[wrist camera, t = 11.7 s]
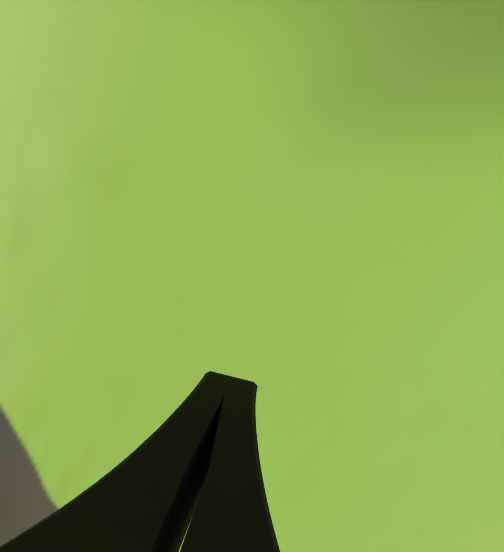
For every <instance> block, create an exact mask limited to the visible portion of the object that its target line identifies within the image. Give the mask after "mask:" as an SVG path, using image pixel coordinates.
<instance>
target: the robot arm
mask: <svg viewBox="0 0 504 552" xmlns="http://www.w3.org/2000/svg"><path fill="white" fill-rule="evenodd" d="M256 392H257V385H256V384H255V383H254V382H251V381H247V380H243V379H239V378H235V377H231V376H227V375H223V374H219V373H215V372H211V371H210V372H208V373H206V374H205V375H204V377H203V378H202V379H201V381H200V382H199V383H198V385H197V386H196V387H195V389H194V390H193V391H192V392H191V394H190V395H189V396H188V397H187V398H186V399H185V400H184V402H183V403H182V404H181V405H180V406H179V407H178V408H177V409H176V410H175V411H174V413H173V414H172V415H171V416H170V417H169V418H168V419H167V420H166V421H165V422H164V423H163V424H162V425H161V426H160V427H159V428H158V429H157V430H156V431H155V432H154V433H153V434H152V435H151V436H150V437H149V438H148V439H147V440H145V441H144V442H143V443H142V444H141V445H140V446H139V447H138V448H137V449H136V450H135V451H134V452H133V453H131V454H130V455H129V456H128V457H127V458H126V459H124V460H123V461H122V462H121V463H120V464H119V465H117V466H116V467H115V468H114V469H112V470H111V471H110V472H109V473H107V474H106V475H105V476H104V477H103V478H101V479H100V480H99V481H97V482H96V483H95V484H93V485H92V486H91V487H89V488H88V489H87V490H85V491H84V492H83V493H81V494H80V495H78V496H77V497H76V498H74V499H73V500H72V501H70V502H69V503H67V504H66V505H64V506H63V507H62V508H60V509H59V510H57V511H56V512H54V513H53V514H51V515H50V516H48V517H46V518H45V519H43V520H42V521H40V522H39V523H37V524H36V525H34V526H32V527H31V528H29V529H28V530H26V531H25V532H23V533H22V534H20V535H18V536H17V537H15V538H14V539H12V540H10V541H9V542H7V543H5V544H4V545H2V546H1V547H0V552H179V549H180V546H181V544H182V541H183V539H184V536H185V534H186V536H185V539H184V542H183V545H182V547H181V550H180V552H280V550H279V546H278V543H277V539H276V535H275V532H274V528H273V524H272V520H271V516H270V512H269V507H268V503H267V498H266V494H265V489H264V483H263V478H262V472H261V466H260V459H259V451H258V443H257V434H256V416H255V403H256ZM190 521H191V522H190ZM189 524H190V525H189ZM188 526H189V528H188ZM187 529H188V531H187ZM186 531H187V533H186Z"/></svg>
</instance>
